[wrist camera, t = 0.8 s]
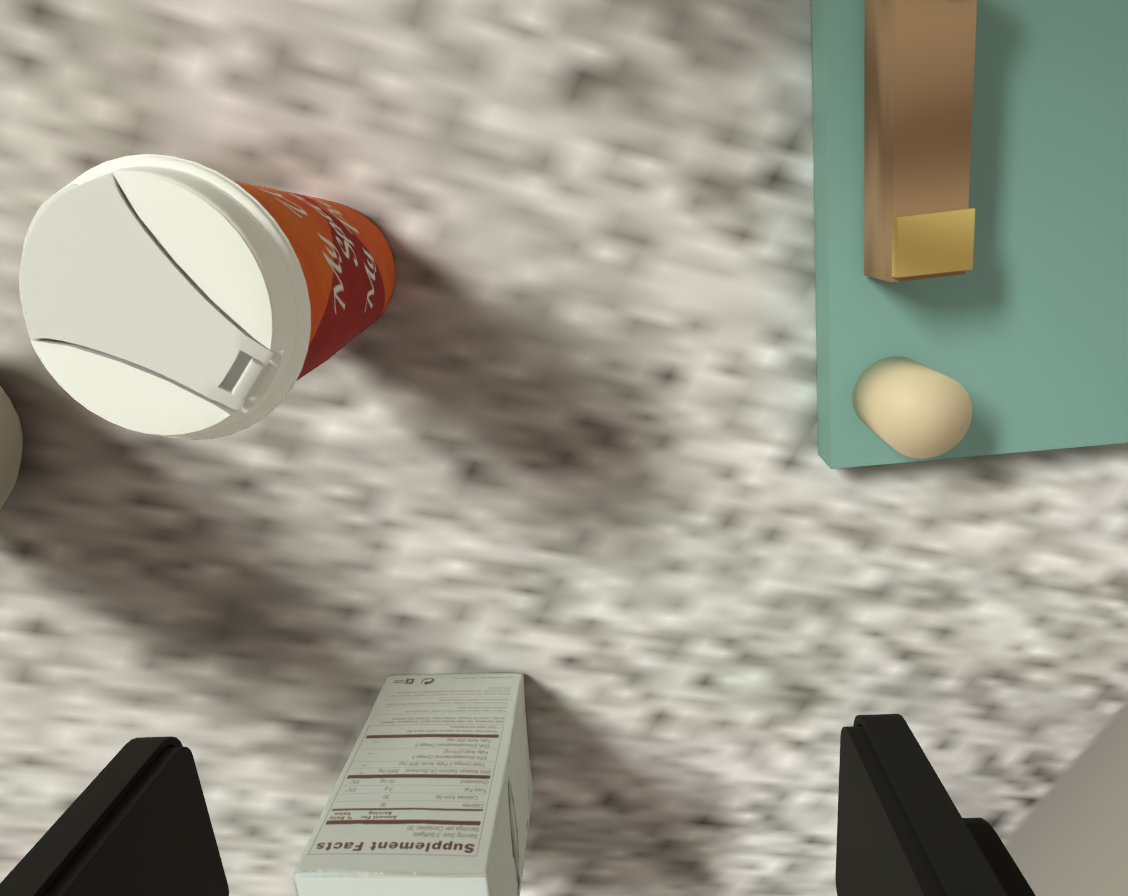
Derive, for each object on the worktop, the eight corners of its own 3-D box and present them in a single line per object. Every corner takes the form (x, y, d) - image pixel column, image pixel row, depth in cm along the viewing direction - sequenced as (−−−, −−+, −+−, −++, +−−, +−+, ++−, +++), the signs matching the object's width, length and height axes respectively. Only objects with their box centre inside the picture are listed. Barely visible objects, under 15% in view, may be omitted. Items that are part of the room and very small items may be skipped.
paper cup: (455, 250, 32) (347, 279, 19) (362, 390, 34) (205, 506, 21) (298, 134, 31) (65, 76, 18) (212, 286, 33) (-54, 338, 20)
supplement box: (536, 786, 40) (506, 1032, 28) (401, 786, 41) (315, 1028, 29) (528, 668, 38) (491, 879, 26) (384, 669, 39) (284, 877, 27)
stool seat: (809, -85, 28) (857, -153, 22) (1306, -160, 26) (1480, -252, 21) (818, 454, 34) (857, 499, 29) (1220, 418, 32) (1338, 458, 27)
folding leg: (864, -45, 26) (908, -89, 22) (939, -56, 26) (996, -102, 22) (863, 275, 29) (902, 284, 25) (930, 268, 29) (979, 276, 25)
